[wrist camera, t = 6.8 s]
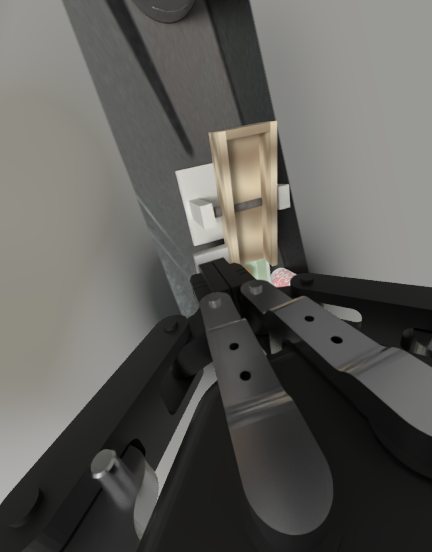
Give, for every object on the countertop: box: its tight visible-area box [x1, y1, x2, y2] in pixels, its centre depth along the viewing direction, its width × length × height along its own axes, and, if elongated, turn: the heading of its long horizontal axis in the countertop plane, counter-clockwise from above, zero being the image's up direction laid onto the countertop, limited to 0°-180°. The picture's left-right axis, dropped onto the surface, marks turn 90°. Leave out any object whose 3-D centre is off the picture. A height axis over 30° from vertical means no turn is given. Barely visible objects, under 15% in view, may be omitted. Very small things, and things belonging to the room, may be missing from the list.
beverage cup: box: [271, 268, 297, 287], centre depth 42 cm, size 6×6×14 cm
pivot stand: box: [175, 163, 290, 246], centre depth 34 cm, size 12×14×10 cm
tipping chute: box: [193, 121, 277, 274], centre depth 30 cm, size 18×12×5 cm
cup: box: [242, 258, 271, 283], centre depth 43 cm, size 11×9×5 cm
